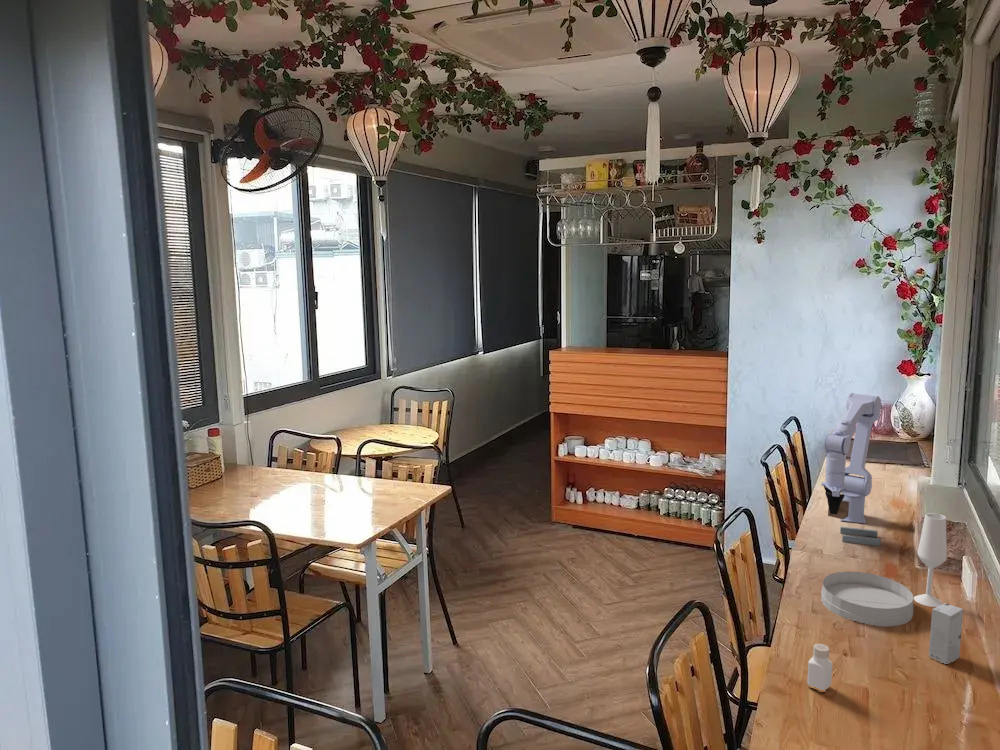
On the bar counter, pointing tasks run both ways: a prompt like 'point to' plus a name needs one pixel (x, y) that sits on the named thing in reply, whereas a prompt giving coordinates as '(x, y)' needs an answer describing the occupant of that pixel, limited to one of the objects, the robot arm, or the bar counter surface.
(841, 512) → the walnut block
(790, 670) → the bar counter surface
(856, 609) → the dish
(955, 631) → the skincare box
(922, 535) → the champagne flute
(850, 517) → the robot arm
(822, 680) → the pepper shaker
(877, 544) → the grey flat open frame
